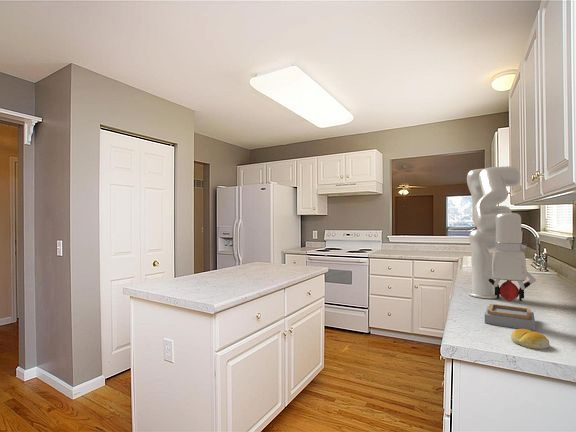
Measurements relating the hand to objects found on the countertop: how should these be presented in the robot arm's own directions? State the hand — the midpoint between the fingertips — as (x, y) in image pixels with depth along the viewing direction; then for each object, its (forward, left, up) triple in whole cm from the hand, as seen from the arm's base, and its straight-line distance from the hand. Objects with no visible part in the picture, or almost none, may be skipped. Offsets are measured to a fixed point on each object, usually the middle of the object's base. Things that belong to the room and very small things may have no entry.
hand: (509, 298), depth 115 cm
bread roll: (+21, +5, -9) cm, 23 cm away
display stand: (0, 0, -8) cm, 8 cm away
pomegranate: (0, 0, -1) cm, 1 cm away
